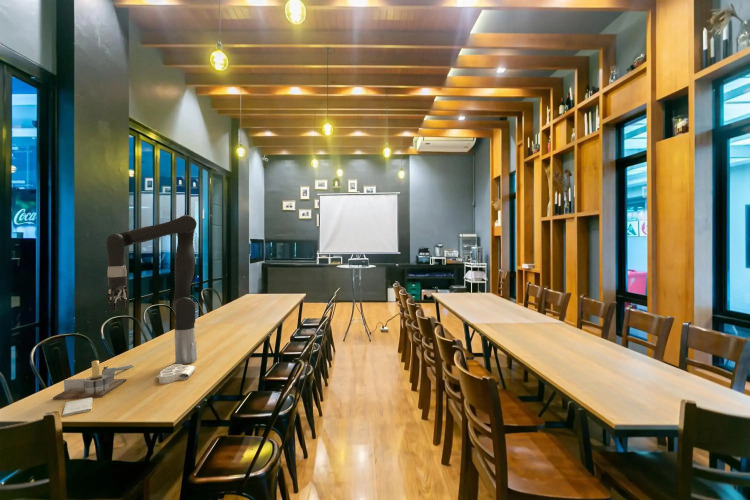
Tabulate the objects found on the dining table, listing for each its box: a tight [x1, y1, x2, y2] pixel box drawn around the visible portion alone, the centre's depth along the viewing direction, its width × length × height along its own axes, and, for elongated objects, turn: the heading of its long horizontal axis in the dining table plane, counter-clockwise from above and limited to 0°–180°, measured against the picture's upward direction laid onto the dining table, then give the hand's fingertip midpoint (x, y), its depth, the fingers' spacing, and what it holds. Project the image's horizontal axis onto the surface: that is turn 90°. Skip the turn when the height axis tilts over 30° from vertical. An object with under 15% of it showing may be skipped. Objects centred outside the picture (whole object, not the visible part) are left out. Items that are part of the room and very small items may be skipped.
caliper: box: [101, 364, 134, 375], centre depth 181 cm, size 20×1×6 cm, turn 179°
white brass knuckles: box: [155, 363, 196, 384], centre depth 176 cm, size 3×18×15 cm
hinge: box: [63, 369, 115, 394], centre depth 160 cm, size 16×16×5 cm
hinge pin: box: [91, 359, 101, 380], centre depth 157 cm, size 2×2×12 cm
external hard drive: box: [61, 397, 94, 417], centre depth 143 cm, size 2×8×12 cm
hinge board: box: [52, 378, 127, 401], centre depth 161 cm, size 18×18×1 cm
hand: (118, 309), depth 183 cm, fingers open, 8 cm apart
